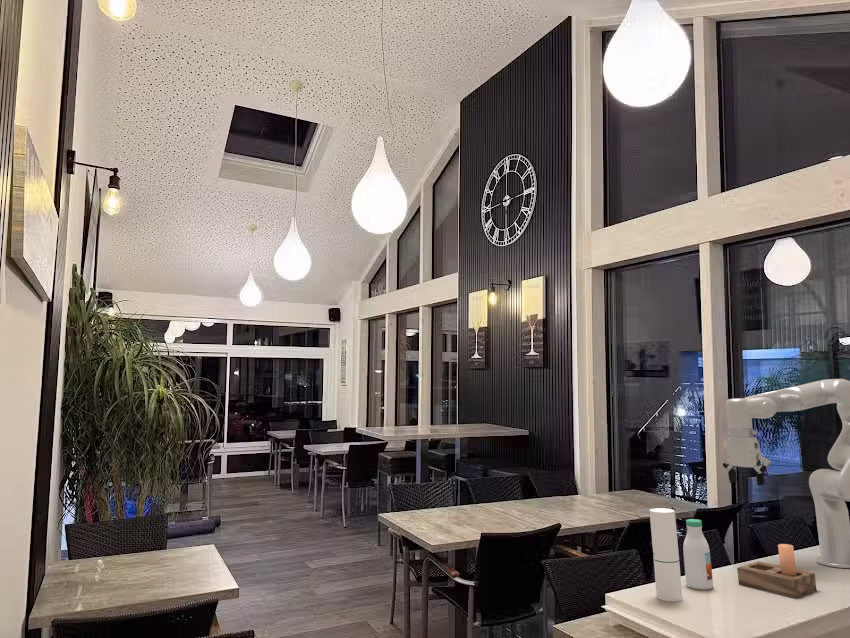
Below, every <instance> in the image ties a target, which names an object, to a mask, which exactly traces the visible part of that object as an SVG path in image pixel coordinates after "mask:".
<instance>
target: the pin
mask: <svg viewBox="0 0 850 638" xmlns="http://www.w3.org/2000/svg"><path fill="white" fill-rule="evenodd" d="M777 549H778V557H779V564H780V565H779V566H780V567H781V574H782V575H786V576H791V577H796V576H797V573H796V569H797V566H796V559H795V551H794V545H792V544H789V543H779V544H777Z"/></svg>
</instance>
